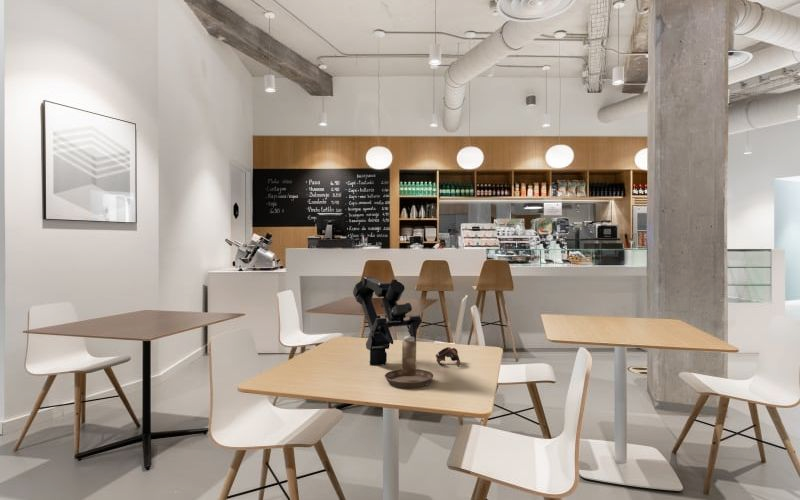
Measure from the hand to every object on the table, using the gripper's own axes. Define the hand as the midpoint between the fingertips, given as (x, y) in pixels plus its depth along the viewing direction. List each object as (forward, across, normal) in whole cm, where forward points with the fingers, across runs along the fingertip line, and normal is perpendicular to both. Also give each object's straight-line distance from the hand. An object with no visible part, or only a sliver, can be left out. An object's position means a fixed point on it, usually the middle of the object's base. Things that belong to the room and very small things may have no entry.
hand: (404, 342), depth 177 cm
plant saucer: (+13, 0, +7) cm, 15 cm away
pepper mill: (+11, 0, +4) cm, 12 cm away
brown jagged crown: (+1, +27, +18) cm, 33 cm away
